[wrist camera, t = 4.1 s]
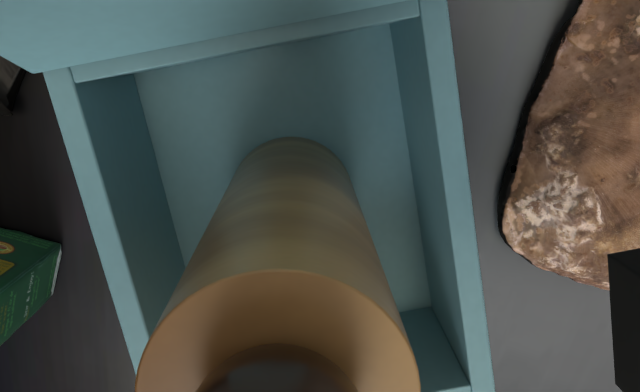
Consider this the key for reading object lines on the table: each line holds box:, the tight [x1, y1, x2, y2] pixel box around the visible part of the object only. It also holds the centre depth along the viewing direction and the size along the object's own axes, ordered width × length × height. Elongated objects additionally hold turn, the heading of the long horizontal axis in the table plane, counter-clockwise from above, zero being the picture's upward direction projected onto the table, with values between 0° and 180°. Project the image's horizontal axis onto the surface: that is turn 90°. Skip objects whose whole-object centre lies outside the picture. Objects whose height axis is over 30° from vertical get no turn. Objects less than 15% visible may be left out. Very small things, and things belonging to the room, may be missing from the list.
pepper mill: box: [135, 137, 421, 392], centre depth 16 cm, size 5×5×16 cm
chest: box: [43, 0, 495, 392], centre depth 21 cm, size 14×12×7 cm
